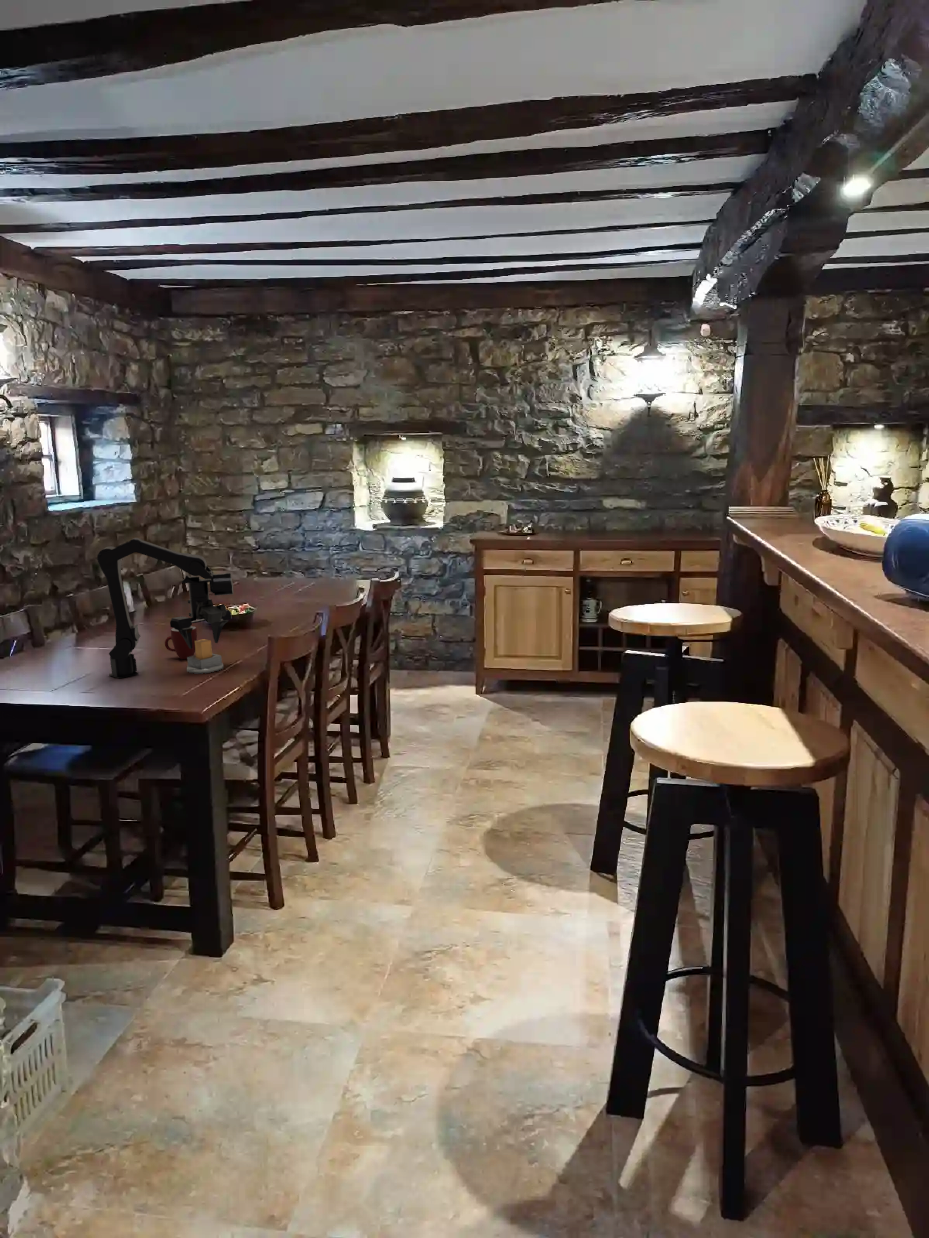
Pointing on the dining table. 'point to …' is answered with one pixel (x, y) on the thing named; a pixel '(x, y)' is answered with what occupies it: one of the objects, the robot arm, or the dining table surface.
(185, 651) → the mug
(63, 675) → the dining table surface
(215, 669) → the silver square frame
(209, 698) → the dining table surface
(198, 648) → the orange-brown rectangular block
